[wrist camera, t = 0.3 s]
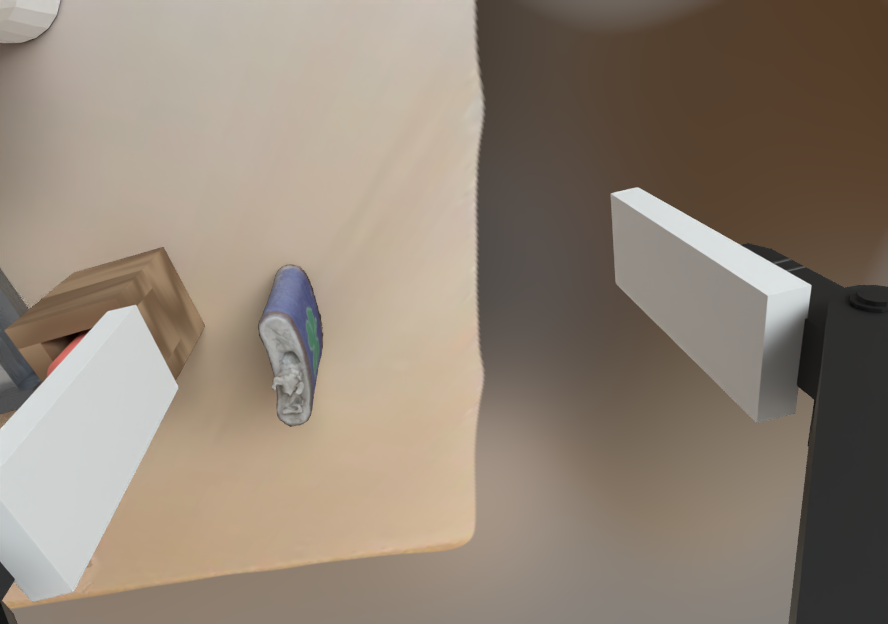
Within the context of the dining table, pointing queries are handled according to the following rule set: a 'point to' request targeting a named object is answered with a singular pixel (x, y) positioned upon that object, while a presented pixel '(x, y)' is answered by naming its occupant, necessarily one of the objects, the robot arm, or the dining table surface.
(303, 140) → the dining table surface
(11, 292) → the rail track
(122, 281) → the open wooden box
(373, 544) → the dining table surface
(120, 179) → the dining table surface
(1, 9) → the cup
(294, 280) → the flask
